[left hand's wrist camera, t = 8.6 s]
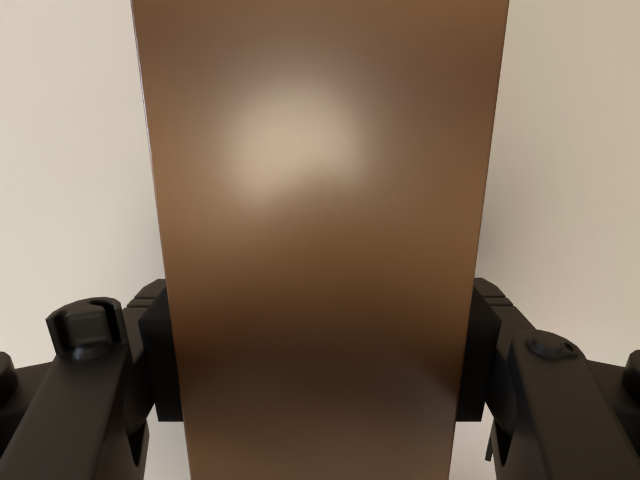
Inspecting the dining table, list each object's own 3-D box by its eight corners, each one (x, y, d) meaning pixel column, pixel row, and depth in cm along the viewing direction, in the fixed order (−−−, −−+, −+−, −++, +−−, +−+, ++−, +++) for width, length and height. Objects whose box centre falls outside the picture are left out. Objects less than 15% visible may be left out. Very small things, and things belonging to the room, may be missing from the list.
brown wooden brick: (219, -265, 11) (-29, -1235, 3) (420, -265, 11) (668, -1231, 3) (252, 328, 16) (193, 506, 9) (386, 328, 16) (446, 506, 9)
